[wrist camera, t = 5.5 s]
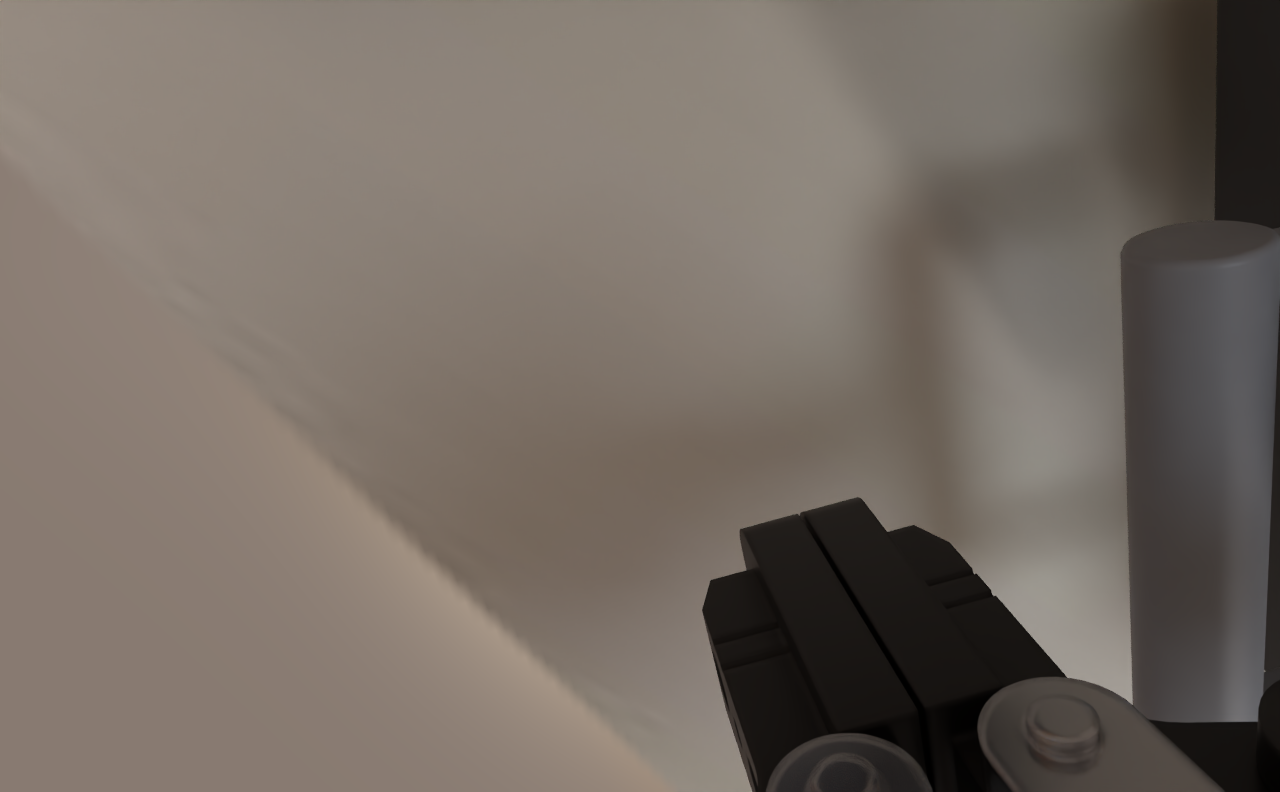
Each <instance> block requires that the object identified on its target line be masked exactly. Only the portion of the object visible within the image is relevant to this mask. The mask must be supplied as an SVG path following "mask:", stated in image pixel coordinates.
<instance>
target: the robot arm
mask: <svg viewBox="0 0 1280 792" xmlns="http://www.w3.org/2000/svg"><path fill="white" fill-rule="evenodd" d="M740 541H741V546H742V551H743V556H744V560H745V565H746V571H743V572H739V573H735V574H732V575H728V576H724V577H721V578H717V579H713V580H711V581H710V584H709V588H708V591H707V595H706V598H705V602H704V605H703V609H702V611H703V616H704V620H705V624H706V628H707V632H708V636H709V641H710V645H711V649H712V653H713V657H714V661H715V666H716V670H717V674H718V678H719V682H720V686H721V691H722V695H723V699H724V703H725V707H726V711H727V714H728V717H729V720H730V723H731V726H732V729H733V733H734V736H735V739H736V742H737V744H738V748H739V751H740V754H741V757H742V761H743V764H744V767H745V769H746V772H747V776H748V779H749V782H750V785H751V788H752V792H1280V680H1278V681H1277V682H1275V683H1273V684H1272V685H1271V686H1270V687H1269V688H1268V689H1267V690H1266V691H1265V693H1264V694H1263V696H1262V697H1261V700H1260V703H1259V707H1258V722H1165V721H1157V720H1150V719H1147V718H1146V717H1145V716H1144V715H1143V714H1142V713H1141V712H1140V711H1139V710H1138V709H1137V708H1135V707H1134V706H1133V705H1132V704H1131V703H1129V702H1128V701H1127V700H1126V699H1124V698H1122V697H1121V696H1119V695H1118V694H1116V693H1114V692H1113V691H1110V690H1108V689H1106V688H1104V687H1101V686H1099V685H1096V684H1093V683H1090V682H1086V681H1082V680H1077V679H1072V678H1067V677H1066V676H1065V674H1064V673H1063V672H1062V671H1061V670H1060V669H1059V668H1058V666H1057V665H1056V664H1055V663H1054V662H1053V661H1052V660H1051V658H1050V657H1049V656H1048V655H1047V654H1046V653H1045V652H1044V650H1043V649H1042V648H1041V647H1040V646H1039V645H1038V643H1037V642H1036V641H1035V640H1034V639H1033V638H1032V637H1031V635H1030V634H1029V633H1028V632H1027V631H1026V630H1025V629H1024V627H1023V626H1022V625H1021V624H1020V623H1019V622H1018V621H1017V619H1016V618H1015V617H1014V616H1013V615H1012V614H1011V612H1010V611H1009V610H1008V609H1007V608H1006V607H1005V606H1004V604H1003V603H1002V602H1001V601H1000V600H999V599H998V598H997V596H993V595H992V593H991V590H990V588H989V587H988V586H987V585H986V584H985V583H984V581H983V580H982V579H981V578H980V577H979V576H978V575H977V574H974V573H973V570H972V568H971V567H970V565H969V564H968V563H967V562H966V561H965V560H964V559H963V557H962V556H961V555H960V554H959V553H958V552H957V551H956V549H955V548H954V547H953V546H952V545H951V544H950V543H949V542H947V541H945V540H943V539H941V538H939V537H937V536H935V535H933V534H931V533H929V532H927V531H925V530H923V529H921V528H919V527H917V526H915V525H912V526H908V527H904V528H901V529H897V530H893V531H890V532H887V531H886V530H885V528H884V527H883V526H882V525H881V523H880V522H879V521H878V519H877V518H876V517H875V515H874V514H873V513H872V511H871V510H870V509H869V508H868V506H867V505H866V504H865V502H864V501H863V500H862V499H861V498H859V497H857V498H853V499H849V500H846V501H842V502H838V503H835V504H831V505H827V506H823V507H820V508H816V509H812V510H808V511H805V512H801V513H800V516H799V515H798V514H794V515H791V516H787V517H783V518H780V519H776V520H772V521H768V522H765V523H761V524H757V525H754V526H750V527H746V528H742V529H740Z"/></svg>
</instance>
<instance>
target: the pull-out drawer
mask: <svg viewBox="0 0 1280 792" xmlns="http://www.w3.org/2000/svg"><path fill="white" fill-rule="evenodd" d="M1120 258H1121V294H1122V330H1123V366H1124V402H1125V438H1126V474H1127V510H1128V546H1129V582H1130V618H1131V654H1132V691H1133V706H1134V707H1135V708H1137V709H1138V710H1139V711H1140V712H1141V713H1142V714H1143V715H1144V716H1145V717H1146V718H1147V719H1150V720H1157V721H1165V722H1258V707H1259V703H1260V700H1261V697H1262V696H1263V694H1264V693H1265V691H1266V690H1267V689H1268V688H1269V687H1270V686H1271V685H1272V684H1273V683H1275V682H1277V681H1278V680H1280V0H1217V68H1216V145H1215V221H1197V222H1187V223H1180V224H1174V225H1169V226H1164V227H1160V228H1156V229H1153V230H1150V231H1147V232H1144V233H1141V234H1139V235H1137V236H1135V237H1133V238H1131V239H1130V240H1128V241H1127V242H1126V243H1125V244H1124V246H1123V249H1122V251H1121V254H1120ZM1264 670H1265V672H1264Z"/></svg>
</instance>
